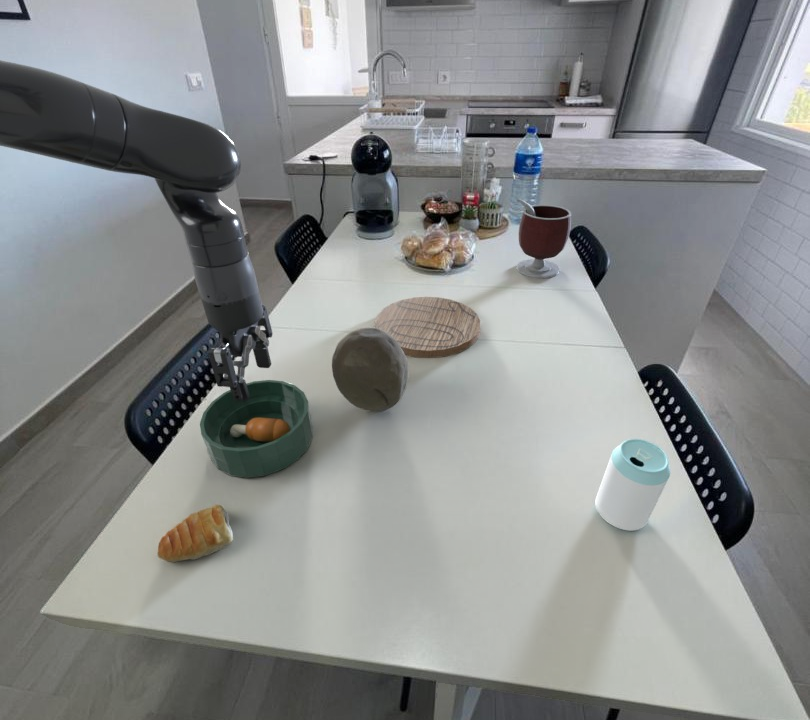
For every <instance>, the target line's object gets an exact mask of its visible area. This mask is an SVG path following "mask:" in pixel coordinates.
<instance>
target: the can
mask: <svg viewBox="0 0 810 720" xmlns="http://www.w3.org/2000/svg"><path fill="white" fill-rule="evenodd" d="M670 467H671V466H670V460H669V456H668V455H667V453H666V452H665V451H664V449H662V448H661V447H659V445H657V444H655V443H654V442H651V441H649V440H646V439H642V438H629V439H626V440H624V441H623V442H622V443H621V444H619V445H618V446H616V447H615V448H614V449H613V450H612V452H611V455H610V458H609V460H608V464H607V465H606V469H605V472H604V474H603V477H602V479H601V483H600V486H599V488H598V491H597V494H596V497H595V501H594V504H595V508H596V511H597V513H598V514H599V515H600V517H601V518H602V519H603V520H604V521H605V522H607V523H608V524H610V525H611V526H613V527H615V528H617V529H619V530H624V531H629V532H631V531H638V530H641V529H643V528H644V527H645V526H646V525H647V524H648V522H649V519H650V518H651V515H652V514H653V512H654V509H655V507H656V506H657V503H658V501H659V499H660V497H661V495H662V493H663V491H664V489H665V487H666V485H667V483H668V481H669V478H670V476H671V468H670Z"/></svg>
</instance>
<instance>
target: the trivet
mask: <svg viewBox="0 0 810 720" xmlns="http://www.w3.org/2000/svg"><path fill="white" fill-rule="evenodd" d="M480 319H481V318H480V317H479V316H478V314H477V312H476V311H475V310H473V309H472V308H471V307H470V306H467V305H466V304H464V303H462V302H460V301H457V300H453V299H449V298H444V297H440V296H439V297H438V296H419V297H410V298H405V299H401V300H398V301H395V302H393V303H390V304H389V305H387V306H385V307H384V308H383V309H381V310H380V312H379V313H378V314H377V315H376V318H375V320H374V328H378V329H381V330H384V331H385V332H387V333H389V334H390V335H391V336H392V337H394V338H395V339H396V341H397V342H398V343H399V345H400V347H401V348H402V350H403V352H404V354H405V356H408V357H413V358H422V359H423V358H424V359H433V358H434V359H435V358H444V357H448V356H449V357H450V356H452V355H456V354H459V353H461V352H463V351H465V350H467V349H469V348H471V347H472V346H473V345H474V344H475V343H476V342H477V341H478V339H479V337H480V334H481V320H480Z"/></svg>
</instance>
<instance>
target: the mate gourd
mask: <svg viewBox="0 0 810 720" xmlns="http://www.w3.org/2000/svg"><path fill="white" fill-rule="evenodd" d="M516 202H519V203H520V204H521V205H522V206H523V207H524V209H523V211H522V214H521V218H520V222H519V225H518V226H519V227H518V245H519V247H520V249H521V250H522V252H523V253H524V254H525V255H526V256H528V257H531V258H530V259H529V258H528V259H524V260H521V261H519V262H518V263H517V264H516V270H517V272H518V273H520V274H521V275H523V276H526V277H530V278H535V279H548V278H552V277H555V276H557V275H558V274H559V273H560V267H559V265H557V264H556V263H554V262H552V261H550V260H547V259H551V258H555V257H557V256H558V255H559V254H561V252H562V251H564V249H565V247H566V246H567V243H568V241H569V238H570V234H571V227H572V211H571V210H570V209H568V208H566V207H563V206H559V205H553V204H534V205H531V204H530V203H528V202H527V201H525V200H523V199H521V198H517V199H516Z"/></svg>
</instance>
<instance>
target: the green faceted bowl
mask: <svg viewBox="0 0 810 720" xmlns="http://www.w3.org/2000/svg"><path fill="white" fill-rule="evenodd" d="M246 385H247V388H248V392H249V396H250V398H249V400H248V401H247V402H239V401H235V400H234V399H233V395H232V393H231V390H230V389H229V390H227V391H224V392H223V393H221V394H220V395H219V396H217V397H216V398H215V399H213V400H212V401H211V402H210V404H209V405H208V406H207V407H206V409H205V410H204V411H203V412H202V415H201V419H200V421H199V428H200V429H199V430H200V434H201V437H202V439H203V443H204V445H205V447H206V450H207V453H208V455H209V458H210V460H211V462H212V463H213V465H215V466H216V468H218V470H219V471H221V472H223V473H225V474H228V475H230V476H232V477H239V478H245V479H246V478H248V479H249V478H257V477H264V476H268V475H271V474H274V473H277V472H280V471H282V470H284V469H286V468H287V467H289V466H290V465H292V464H293V463H295V462H296V461H298V460H299V459H300V458H301V457H302V456H303V454H304V453H305V452H306V451H307V450H308V449H309V446H310V444H311V442H312V440H313V437H314V425H313V421H312V420H313V419H312V414H311V409H310V404H309V403H310V402H309V400H308V398H307V395H306V394H305V392H304V391H303V390H302V389H300V388H299V387H298V386H296V385H295V384H293V383H290V382H287V381H284V380H275V379H265V380H264V379H263V380H254V381H250V382H246ZM257 417H260V418H273V419H282V420H284V421H286V422H287V423H288V425H289V427H290V431H289V432H288V433H287V434H285V435H283V436H282V437H280V438H278V439H276V440H275V441H272V442H262V441H254V440H251V439H250V438H248V436H247V435H244V434H242V436H240V437H238V438H235V437H233V436H231V434H230V429H231V427H232V426H233V425H235V424H238V425H247V423H248V422H249V421H250V420H251V419H253V418H257Z"/></svg>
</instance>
